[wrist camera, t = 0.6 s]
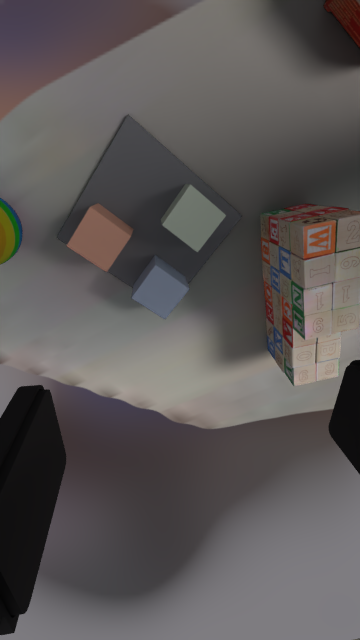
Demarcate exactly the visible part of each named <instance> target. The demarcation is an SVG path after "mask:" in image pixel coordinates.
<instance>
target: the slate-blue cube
mask: <svg viewBox="0 0 360 640" xmlns="http://www.w3.org/2000/svg"><path fill="white" fill-rule="evenodd" d="M188 290H189V286H188V283H187V280H186V277H185V276H184V275H182V274H181V273H180V272H178V271H177V270H176V269H174V268H173V267H171V266H170V265H169V264H167V263H166V262H165V261H163V260H162V259H160V258H159V257H158V256H156V255H155V256H154V257H153V258H152V260H151V261H150V263H149V264H148V265H147V267H146V268H145V269H144V271H143V272H142V274H141V275H140V276H139V278H138V279H137V281H136V282H135V283H134V286H133V292H132V297H131V298H132V299H134V300H135V301H137V302H138V303H140V304H142V305H143V306H145V307H146V308H148V309H149V310H151V311H152V312H154V313H156V314H157V315H159V316H160V317H162V318H163V319H166V318H167V316H168V315H169V314H170V313H171V311H172V310H173V309H174V308H175V306H176V305H177V304H178V303H179V302H180V300H181V299H182V298H183V297H184V295H185V294H186V293H187V292H188Z"/></svg>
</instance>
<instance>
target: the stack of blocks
mask: <svg viewBox="0 0 360 640" xmlns="http://www.w3.org/2000/svg"><path fill="white" fill-rule="evenodd" d="M260 218H261V249H262V269H263V280H264V287H265V299H266V316H267V317H266V329H267V342H268V351H269V352H270V354H271V355H272V357H273V358H274V360H275V361H276V363H277V364H278V366H279V367H280V369H281V370H282V371H283V373H285V374H286V376H287V377H288V378H289V380H290V381H291V383H292V384H293V386H297V385H302V384H307V383H312V382H315V381H319V380H324V379H328V378H333V377H338V375H339V374H338V373H339V357H340V346H341V332H342V331H347V330H352V329H357V328H358V327H359V316H360V211H351V210H349V209H348V208H341V207H328V206H318V205H313V204H302V205H298V206H293V207H288V208H284V209H281V210H276V211H271V212H266V213H261V214H260Z"/></svg>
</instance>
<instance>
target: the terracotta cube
mask: <svg viewBox="0 0 360 640" xmlns="http://www.w3.org/2000/svg"><path fill="white" fill-rule="evenodd" d="M133 230H134V229H133V228H131V227H130V226H128V225H127V224H126V223H124V222H123V221H122V220H120V219H119V218H118V217H116V216H115V215H114V214H112V213H111V212H110V211H108V210H107V209H105V208H104V207H103V206H101V205H100V204H99V203H97V204H95V205H93V206H91V207H90V208H89V209H88V211H87V213H86V214H85V216H84V218H83V219H82V221H81V223H80V224H79V226H78V228H77V229H76V231H75V233H74V234H73V236H72V238H71V239H70V241H69V243H68V244H67V247H69V248H70V249H72V250H73V251H75V252H76V253H78V254H79V255H81V256H82V257H84V258H86V259H87V260H89V261H90V262H92V263H93V264H95V265H96V266H98V267H99V268H101V269H102V270H104V271H105V272H107V271H108V270H109V268H110V267H111V265H112V264H113V262H114V261H115V259H116V258H117V256H118V255H119V253H120V252H121V251H122V249H123V248H124V246H125V245H126V243H127V242H128V240H129V239H130V237H131V235H132V232H133Z"/></svg>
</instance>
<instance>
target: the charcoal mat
mask: <svg viewBox="0 0 360 640" xmlns="http://www.w3.org/2000/svg"><path fill="white" fill-rule="evenodd" d="M185 184H191V185H192V186H193V187H194V188H195V189H196V190H198V191H199V192H200V193H201V194H202V195H203V196H205V197H206V198H207V199H208V200H209V201H210V202H211V203H213V204H214V205H215V206H216V207H217V208H218V209H219V210H221V211H222V212H223V213H224V214H225V215H226V217H225V218H224V219H223V220H222V222H221V223H220V224H219V226H218V227H217V228H216V229H215V231H214V232H213V233H212V235H211V236H210V237H209V238H208V240H207V241H206V242H205V244H204V245H203V246H202V247H201V249H200V250H199V251H198V252H196V251H195V250H194V249H192V248H191V247H190V246H189V245H187V244H186V243H185V242H183V241H182V240H181V239H180V238H178V237H177V236H176V235H174V234H173V233H172V232H171V231H169V230H168V229H167V228H165V227H164V226H163V225H162V222H161V218H162V217H163V215H164V214H165V212H166V211H167V210H168V208H169V207H170V205H171V204H172V202H173V201H174V200H175V198H176V197H177V195H178V194H179V192H180V191H181V190H182V188H183V187H184V185H185ZM97 203H99V204H100V205H101V206H103V207H104V208H105V209H107V210H108V211H110V212H111V213H112V214H114V215H115V216H116V217H118V218H119V219H120V220H122V221H123V222H124V223H126V224H127V225H128V226H130V227H131V228H133V229H134V230H133V232H132V235H131V237H130V239H129V240H128V242H127V243H126V245H125V246H124V248H123V249H122V251H121V252H120V253H119V255H118V256H117V258H116V259H115V261H114V262H113V264H112V265H111V267H110V268H109V270H108V272H109V273H111V274H112V275H114V276H115V277H117V278H118V279H120V280H122V281H123V282H125V283H126V284H128V285H129V286H131V287H132V288H133V286H134V283H135V282H136V281H137V279H138V278H139V276H140V275H141V274H142V272H143V271H144V269H145V268H146V267H147V265H148V264H149V263H150V261H151V260H152V258H153V257H154V256H155V255H156V256H158V257H159V258H160V259H162V260H163V261H165V262H166V263H167V264H169V265H170V266H171V267H173V268H174V269H176V270H177V271H178V272H180V273H181V274H182V275H184V276H185V277H186V280H187V283H188V284H189V282H190V281H191V280H192V279H193V277H194V276H195V275H196V274H197V272H198V271H199V270H200V269H201V267H202V266H203V265H204V264H205V262H206V261H207V260H208V259H209V257H210V256H211V255H212V254H213V252H214V251H215V250H216V249H217V247H218V246H219V245H220V244H221V242H222V241H223V240H224V239H225V237H226V236H227V235H228V234H229V232H230V231H231V230H232V228H233V227H234V226H235V225H236V223H237V222H238V221H239V220H240V218H241V217H242V215H241V214H239V213H238V212H237V211H236V210H235V209H234V208H233V207H232V206H230V205H229V204H228V203H227V202H226V201H225V200H224V199H223V198H221V197H220V196H219V195H218V194H217V193H216V192H215V191H214V190H212V189H211V188H210V187H209V186H208V185H207V184H206V183H205V182H203V181H202V180H201V179H200V178H199V177H198V176H197V175H196V174H194V173H193V172H192V171H191V170H190V169H189V168H188V167H187V166H185V165H184V164H183V163H182V162H181V161H180V160H179V159H178V158H176V157H175V156H174V155H173V154H172V153H171V152H170V151H169V150H167V149H166V148H165V147H164V146H163V145H162V144H161V143H160V142H158V141H157V140H156V139H155V138H154V137H153V136H152V135H151V134H149V133H148V132H147V131H146V130H145V129H144V128H143V127H142V126H140V125H139V124H138V123H137V122H136V121H135V120H134V119H133V118H132V117H130V116H129V115H128V116H127V117H126V119H125V121H124V122H123V124H122V126H121V128H120V129H119V131H118V133H117V134H116V136H115V138H114V140H113V141H112V143H111V145H110V146H109V148H108V150H107V152H106V153H105V155H104V157H103V159H102V160H101V162H100V164H99V165H98V167H97V169H96V171H95V172H94V174H93V176H92V177H91V179H90V181H89V183H88V184H87V186H86V188H85V189H84V191H83V193H82V195H81V196H80V198H79V200H78V201H77V203H76V205H75V207H74V208H73V210H72V212H71V213H70V215H69V217H68V219H67V220H66V222H65V224H64V226H63V227H62V229H61V231H60V232H59V234H58V236H57V238H58V239H59V240H61V241H62V242H64V243H65V244H68V243H69V241H70V239H71V238H72V236H73V234H74V233H75V231H76V229H77V228H78V226H79V224H80V223H81V221H82V219H83V218H84V216H85V214H86V213H87V211H88V209H89V208H90V207H91V206H93V205H95V204H97Z"/></svg>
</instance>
